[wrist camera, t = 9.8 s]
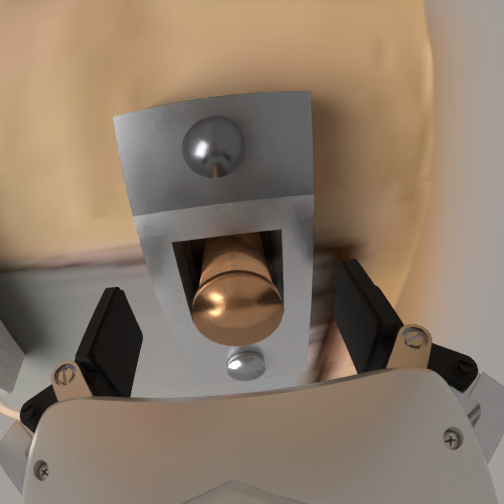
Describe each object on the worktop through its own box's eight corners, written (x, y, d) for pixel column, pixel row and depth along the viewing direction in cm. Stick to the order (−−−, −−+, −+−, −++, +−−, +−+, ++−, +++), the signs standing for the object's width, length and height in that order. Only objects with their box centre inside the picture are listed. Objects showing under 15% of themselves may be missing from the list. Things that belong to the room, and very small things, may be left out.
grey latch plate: (140, 113, 13) (107, 118, 9) (288, 94, 13) (314, 90, 9) (194, 343, 21) (191, 391, 17) (294, 332, 22) (307, 378, 18)
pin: (197, 218, 16) (182, 284, 10) (261, 210, 16) (282, 273, 11) (207, 272, 18) (202, 349, 12) (265, 265, 18) (283, 340, 13)
